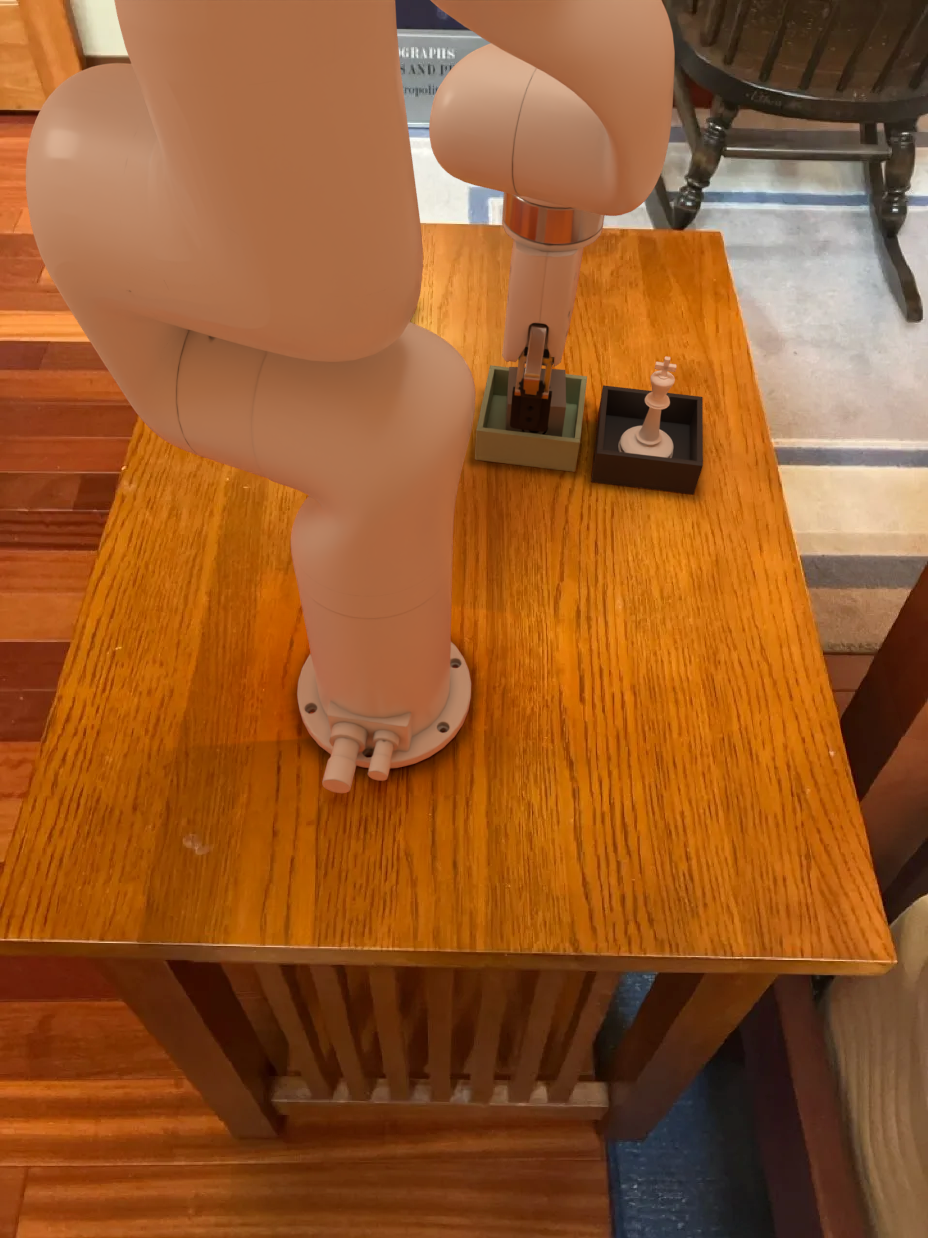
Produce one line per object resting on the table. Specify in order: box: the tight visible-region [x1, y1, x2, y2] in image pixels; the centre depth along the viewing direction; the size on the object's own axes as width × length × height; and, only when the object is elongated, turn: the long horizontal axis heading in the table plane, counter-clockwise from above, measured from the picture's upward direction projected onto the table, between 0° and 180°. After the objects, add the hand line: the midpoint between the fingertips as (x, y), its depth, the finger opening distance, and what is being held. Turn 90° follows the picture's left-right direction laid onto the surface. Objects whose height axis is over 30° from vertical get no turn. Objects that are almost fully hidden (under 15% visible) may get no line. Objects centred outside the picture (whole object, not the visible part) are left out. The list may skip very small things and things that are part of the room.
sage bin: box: [474, 364, 588, 473], centre depth 84 cm, size 9×9×4 cm
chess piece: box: [618, 355, 677, 458], centre depth 80 cm, size 5×5×10 cm
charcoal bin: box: [590, 385, 704, 495], centre depth 83 cm, size 9×9×4 cm
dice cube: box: [505, 366, 567, 437], centre depth 83 cm, size 5×5×5 cm
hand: (534, 390), depth 82 cm, fingers open, 9 cm apart
